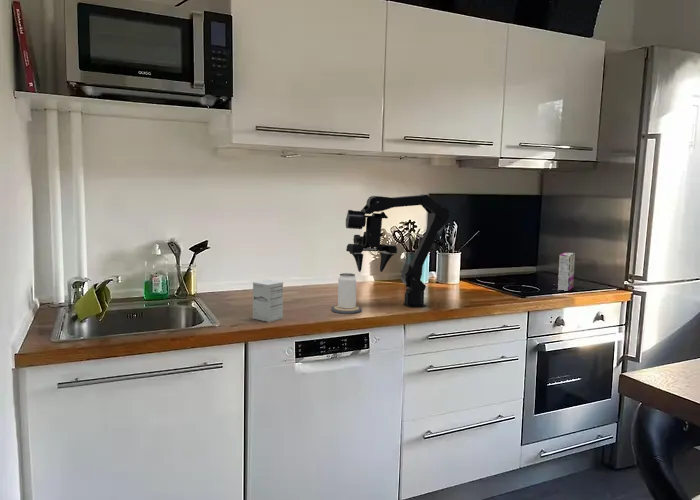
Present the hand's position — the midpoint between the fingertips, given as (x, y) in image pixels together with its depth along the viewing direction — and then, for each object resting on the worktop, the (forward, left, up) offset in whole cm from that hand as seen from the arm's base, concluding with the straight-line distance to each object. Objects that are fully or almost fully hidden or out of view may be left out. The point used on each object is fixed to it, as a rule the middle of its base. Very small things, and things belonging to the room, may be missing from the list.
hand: (370, 271), depth 212 cm
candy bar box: (-98, -3, -13) cm, 99 cm away
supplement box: (+41, +7, -13) cm, 44 cm away
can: (+11, +3, -12) cm, 17 cm away
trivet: (+11, +4, -13) cm, 17 cm away
